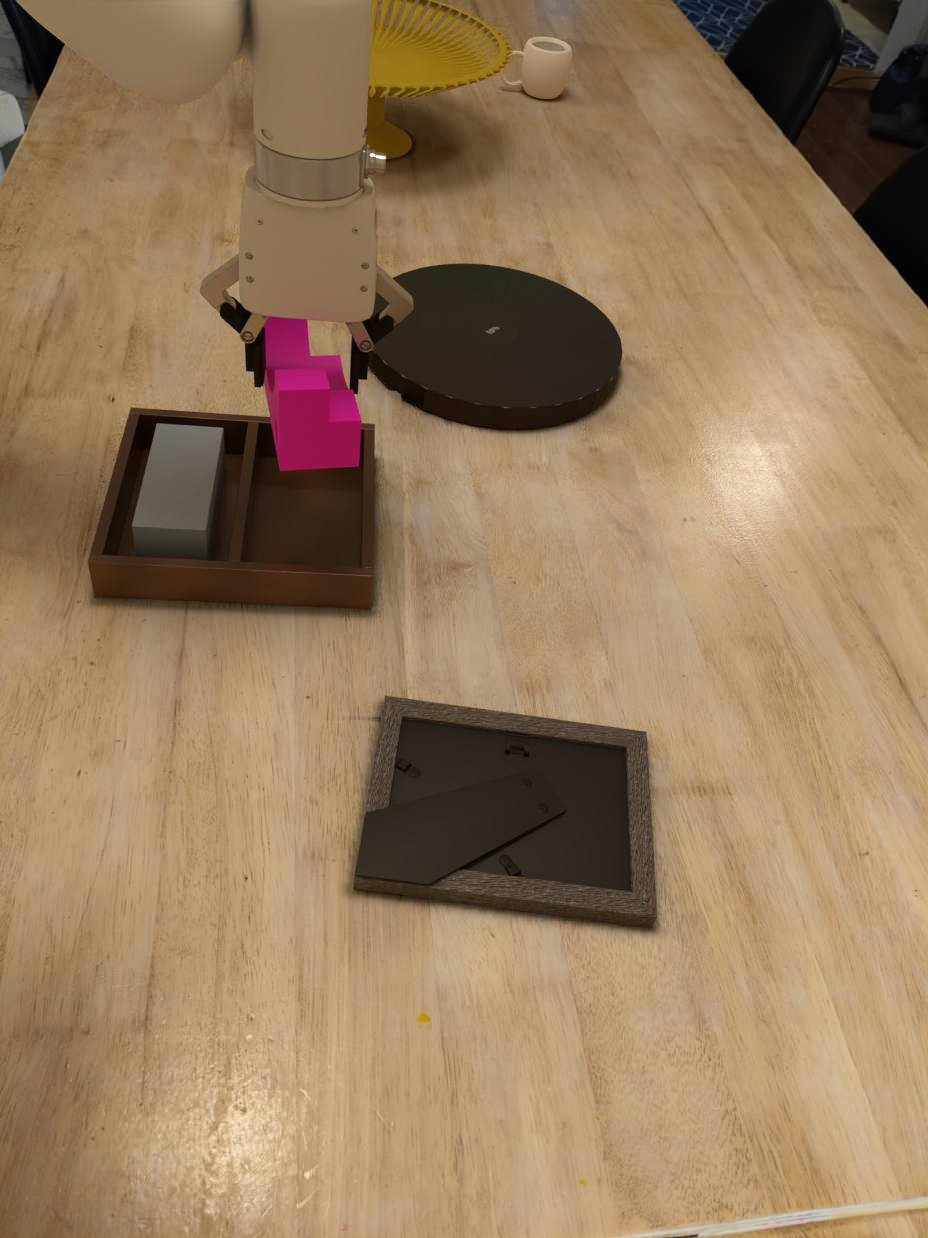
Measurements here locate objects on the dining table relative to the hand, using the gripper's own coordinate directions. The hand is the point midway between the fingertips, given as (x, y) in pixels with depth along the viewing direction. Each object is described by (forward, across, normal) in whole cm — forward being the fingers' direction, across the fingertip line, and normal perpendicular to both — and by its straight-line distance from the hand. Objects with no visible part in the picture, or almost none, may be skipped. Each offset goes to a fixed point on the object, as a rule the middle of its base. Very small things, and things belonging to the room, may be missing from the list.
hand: (307, 379), depth 84 cm
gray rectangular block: (+15, +11, 0) cm, 19 cm away
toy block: (+3, 0, 0) cm, 3 cm away
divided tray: (+16, +5, 0) cm, 17 cm away
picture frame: (+16, -17, +30) cm, 38 cm away
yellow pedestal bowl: (+16, -5, -87) cm, 88 cm away
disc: (+16, -20, -32) cm, 41 cm away
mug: (+16, -33, -113) cm, 118 cm away
